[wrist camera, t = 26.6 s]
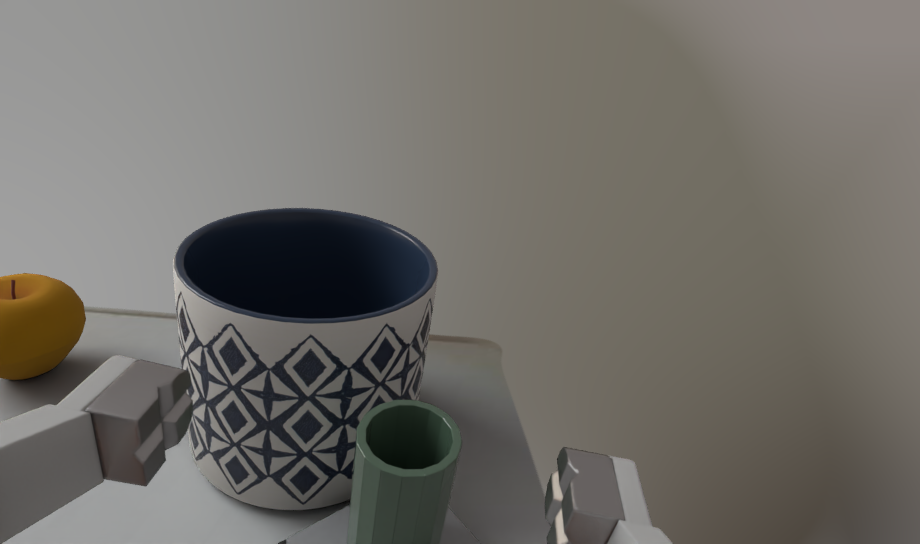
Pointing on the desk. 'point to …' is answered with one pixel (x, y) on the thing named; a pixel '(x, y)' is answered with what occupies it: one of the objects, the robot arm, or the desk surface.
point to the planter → (297, 345)
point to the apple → (36, 324)
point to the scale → (330, 533)
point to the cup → (402, 474)
